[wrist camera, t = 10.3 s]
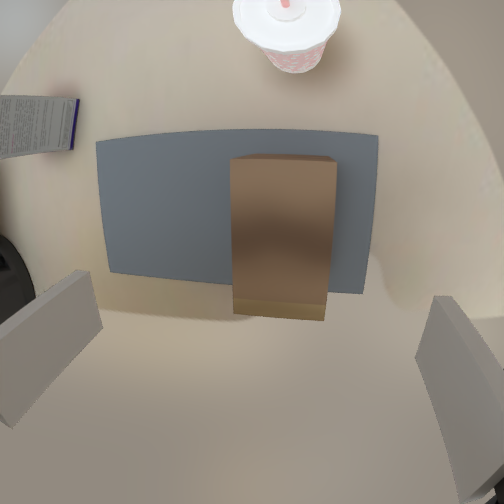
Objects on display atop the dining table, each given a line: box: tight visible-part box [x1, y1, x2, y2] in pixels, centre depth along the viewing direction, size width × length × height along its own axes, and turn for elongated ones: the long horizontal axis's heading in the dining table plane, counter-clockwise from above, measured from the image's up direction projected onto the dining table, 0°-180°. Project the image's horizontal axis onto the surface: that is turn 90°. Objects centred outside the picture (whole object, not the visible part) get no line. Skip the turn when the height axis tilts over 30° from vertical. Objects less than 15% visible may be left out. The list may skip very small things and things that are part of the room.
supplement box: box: [0, 95, 79, 159], centre depth 22 cm, size 6×6×12 cm
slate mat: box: [96, 129, 378, 294], centre depth 27 cm, size 26×14×1 cm, turn 90°
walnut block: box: [230, 154, 337, 321], centre depth 22 cm, size 10×6×8 cm, turn 0°
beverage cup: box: [232, 0, 341, 73], centre depth 15 cm, size 6×6×14 cm
